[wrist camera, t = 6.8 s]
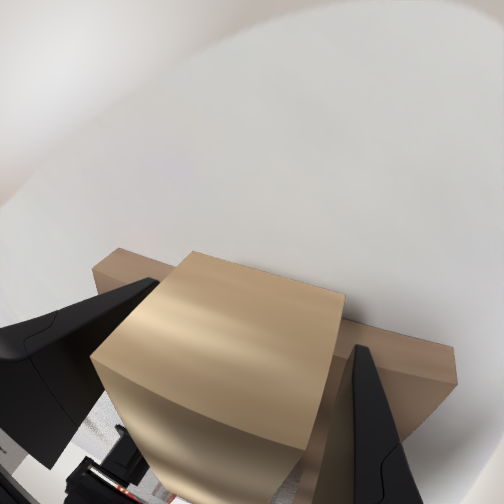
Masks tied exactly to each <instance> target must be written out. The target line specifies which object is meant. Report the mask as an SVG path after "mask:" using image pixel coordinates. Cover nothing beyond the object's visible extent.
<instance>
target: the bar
mask: <svg viewBox="0 0 504 504" xmlns="http://www.w3.org/2000/svg"><path fill="white" fill-rule="evenodd" d="M345 297H346V295H345V294H341V293H337V292H334V291H330V290H327V289H323V288H320V287H316V286H312V285H309V284H305V283H302V282H298V281H295V280H291V279H288V278H284V277H281V276H277V275H274V274H270V273H267V272H263V271H260V270H256V269H253V268H249V267H246V266H243V265H239V264H236V263H232V262H229V261H225V260H222V259H219V258H215V257H212V256H208V255H205V254H202V253H198V252H195V251H192V252H191V253H190V254H189V255H188V256H187V257H186V258H185V259H184V260H183V261H182V262H181V263H180V264H179V265H178V266H177V267H176V268H175V269H174V270H173V271H172V272H171V273H170V274H169V275H168V276H167V277H166V278H165V279H164V280H163V281H162V282H161V283H160V284H159V285H158V286H157V287H156V288H155V289H154V290H153V291H152V292H151V293H150V294H149V295H148V296H147V297H146V298H145V299H144V300H143V301H142V302H141V303H140V304H139V305H138V306H137V307H136V308H135V309H134V310H133V311H132V312H131V314H130V315H129V316H128V317H127V318H126V319H125V320H124V321H123V322H122V323H121V324H120V325H119V326H118V327H117V328H116V329H115V330H114V331H113V332H112V333H111V334H110V335H109V336H108V338H107V339H106V340H105V341H104V342H103V343H102V344H101V345H100V346H99V347H98V348H97V349H96V350H95V351H94V352H93V354H92V355H91V356H90V358H91V360H92V363H93V365H94V367H95V369H96V371H97V373H98V376H99V378H100V380H101V382H102V384H103V386H104V388H105V390H106V392H107V394H108V396H109V398H110V400H111V402H112V403H113V405H114V407H115V409H116V411H117V413H118V415H119V416H120V418H121V420H122V422H123V424H124V425H125V427H126V429H127V430H128V432H129V434H130V436H131V437H132V439H133V441H134V442H135V444H136V445H137V447H138V449H139V450H140V452H141V453H142V455H143V457H144V458H145V460H146V461H147V463H148V464H149V466H150V467H151V469H152V470H153V472H154V473H155V475H156V476H157V477H158V479H159V480H160V482H161V483H162V484H163V486H164V487H165V489H166V490H168V491H170V492H172V493H174V494H176V495H178V496H180V497H182V498H185V499H187V500H189V501H191V502H194V503H196V504H267V502H268V501H269V500H270V499H271V497H272V496H273V495H274V493H275V492H276V491H277V490H278V488H279V487H280V486H281V484H282V483H283V482H284V480H285V479H286V477H287V476H288V475H289V473H290V472H291V471H292V469H293V468H294V466H295V465H296V463H297V462H298V461H299V459H300V458H301V456H302V455H303V453H304V452H305V450H306V447H307V444H308V441H309V438H310V435H311V432H312V428H313V425H314V422H315V418H316V415H317V412H318V408H319V405H320V401H321V398H322V394H323V391H324V387H325V383H326V379H327V376H328V372H329V368H330V364H331V360H332V356H333V352H334V348H335V343H336V339H337V335H338V330H339V326H340V321H341V316H342V312H343V307H344V302H345Z"/></svg>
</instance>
